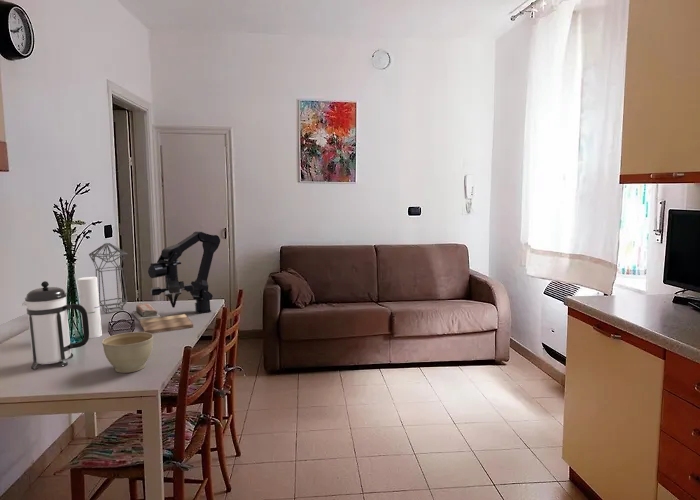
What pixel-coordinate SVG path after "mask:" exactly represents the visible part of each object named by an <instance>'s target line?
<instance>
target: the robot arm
mask: <svg viewBox="0 0 700 500" xmlns="http://www.w3.org/2000/svg"><path fill="white" fill-rule="evenodd" d="M198 242H200V243H202V245H201V246H202V249H203V254H202V257H201V261H200V265H199V269H198V274H197V278H196V279H195V280H194V281H193V280H192V281H191V282H190V283H185V282H184V281H179V274H178V265H182V262H181V261H179V259H180V257H181V256H182V255H183V253H184V252H185V251H187V249H189V248H190V247H193V246H194V245H195V244H197V243H198ZM220 243H221V239H220V236H218V235H217V234H209V233H206V232H203V231H193V233H192V234H190V235H189V236H187V237H185V238H184V239H183V240H181V241H179V242H178V243H177V244H173V245H170V246H166V247H164V248H163V249H162V250H161V254H160V255H159V257H158V259H157V261H156V262H151V263H150V266H149V267H148V270H147V273H148V276H149V278H151V279H157V278H162V277H164V280H165V287H164V288H161V287H160V286H157V287H156V286H155V287H151V288H150V295H151V296H153V297H154V296H160V295H161V294H162V293H163V295H164V296H167V298H168V300H169V302H170V304H171V307H172V308H173V309H174V308H175V307H176V304H177V301H178V297H179V296H180V295H182V291H186V292H187V293H188V292H189V293H190V295H191V296H192V300H195V302H194V308H195V309H194V310H195V312H196V313H197V314H204V313H212V310H211V300H213V294H212V293H211V292H210V291H209V284H208V278H209V275H210V269H211V266H212V261H213V257H214V253H215V252H217V250H218V249H219V246H220Z"/></svg>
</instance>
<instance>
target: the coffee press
mask: <svg viewBox="0 0 700 500" xmlns="http://www.w3.org/2000/svg"><path fill="white" fill-rule="evenodd" d="M40 285H41V287H39V288H35V289H32V290H30V291H28V292H27V294H26V297H24V301H23V302H22V303H21V307H23V306H24V307H25V306H26V314H27V319H28V327H29V337H30V347H31V355H32V364H31V366H30V369H31V370H35V369H36V370H37V369H38V368H39V367H40V366H41V365H51V364H57V363H59V364H60V365H61V366H62V365H64V366H63V367H66V366H68V361H67V360H68V359H73V357H74V354H73V353H72V349H77V348H81V347H84V346H85V345H86V344H87V343H88V341H89V340H90V338H89V324H88V315H87V312H86V310H85V308H84V307H83V306H81V305H80V303H79V304H78V303H77V304H76V303H72V304H68V303H67V296H68V293H67V292H65V290H64V289H63V288H61V287H57V286H56V287H55V286H49V282H48V281H42V282H41V284H40ZM68 310H77V311H79V313H80V315H81V314H82V317H81V323H82V322H83V328H82V334H83V333H84V338H82V340H81V341H79V342H71V340H70V339H71V338H70V328H69V316H68ZM65 365H66V366H65ZM36 370H35V371H36Z"/></svg>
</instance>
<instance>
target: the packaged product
mask: <svg viewBox="0 0 700 500" xmlns="http://www.w3.org/2000/svg"><path fill="white" fill-rule="evenodd" d="M132 314H133V315H134V317H135V318H136V319H137V320H138V321H139V322H140V320H144V319H152V318H159V317H162V316H161V315H160V314H159V313H158V311H157V310H156V309H155V308H154V307H153V306H152V305H151V304H150V303H144V304H142V303H141V304H137V305H136V307H135V310H133V311H132Z"/></svg>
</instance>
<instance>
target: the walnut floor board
mask: <svg viewBox="0 0 700 500" xmlns="http://www.w3.org/2000/svg"><path fill="white" fill-rule="evenodd" d="M141 327H142V330H143V332H147V333H151V334H156V333H157V334H158V333H164V332H170V331H179V330H184V329H190V328H192V329H193V328H194V323H193V322H192V321H191V319H190V318H189V317H188V316H187V317H186V318H178V319H171V320H163V321H156V322H148V323H142V325H141Z"/></svg>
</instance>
